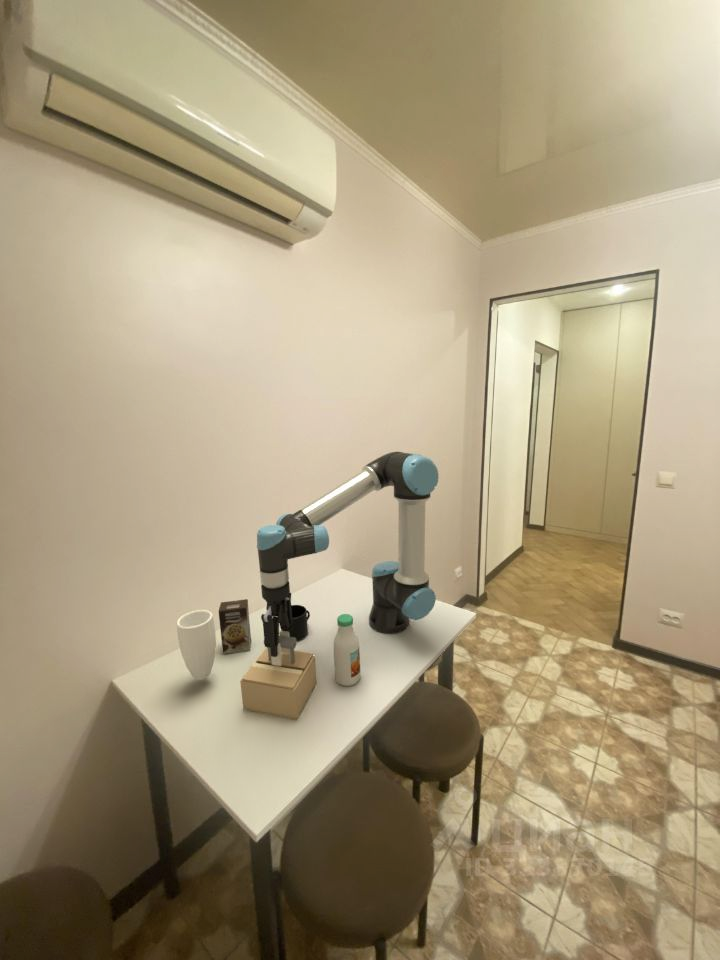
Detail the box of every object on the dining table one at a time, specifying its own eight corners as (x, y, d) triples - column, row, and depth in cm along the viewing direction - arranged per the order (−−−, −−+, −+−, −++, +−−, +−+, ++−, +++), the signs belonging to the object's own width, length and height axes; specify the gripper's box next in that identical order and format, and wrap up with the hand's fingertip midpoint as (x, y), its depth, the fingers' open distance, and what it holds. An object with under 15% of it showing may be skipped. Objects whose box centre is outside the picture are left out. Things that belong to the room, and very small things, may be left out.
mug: (318, 629, 141) (317, 607, 140) (292, 645, 133) (290, 621, 131) (302, 620, 148) (300, 599, 146) (276, 635, 139) (274, 612, 137)
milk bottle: (343, 690, 111) (339, 628, 107) (330, 675, 118) (327, 615, 114) (365, 679, 115) (363, 619, 111) (352, 665, 122) (349, 607, 118)
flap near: (313, 654, 113) (311, 629, 111) (303, 670, 107) (301, 643, 105) (267, 648, 117) (265, 623, 115) (256, 662, 111) (253, 636, 109)
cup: (185, 677, 119) (176, 613, 115) (220, 667, 123) (213, 605, 119) (183, 700, 110) (173, 632, 105) (222, 689, 113) (214, 623, 109)
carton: (316, 682, 115) (314, 653, 113) (297, 720, 101) (294, 687, 100) (268, 674, 119) (265, 646, 117) (243, 709, 106) (239, 678, 104)
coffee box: (222, 655, 129) (217, 611, 126) (225, 643, 135) (220, 601, 132) (250, 651, 131) (246, 607, 127) (251, 639, 137) (247, 598, 134)
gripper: (277, 567, 115) (283, 637, 119) (245, 597, 98) (253, 677, 102) (301, 569, 113) (306, 640, 117) (271, 600, 96) (279, 682, 100)
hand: (281, 657), depth 110 cm, fingers open, 5 cm apart
